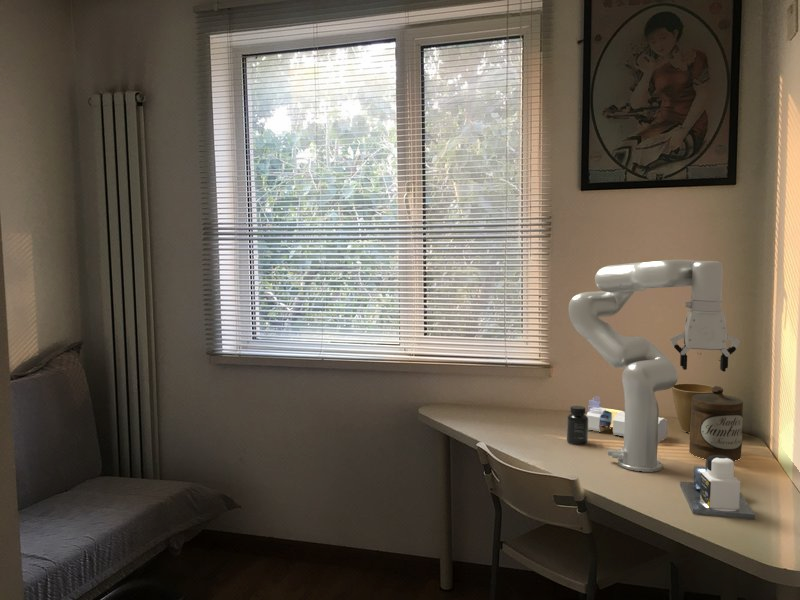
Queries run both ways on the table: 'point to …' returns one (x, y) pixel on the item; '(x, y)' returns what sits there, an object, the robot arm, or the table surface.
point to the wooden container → (716, 425)
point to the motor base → (700, 507)
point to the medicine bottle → (720, 483)
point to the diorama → (615, 420)
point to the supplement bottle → (577, 426)
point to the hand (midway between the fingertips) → (703, 369)
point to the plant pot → (687, 401)
